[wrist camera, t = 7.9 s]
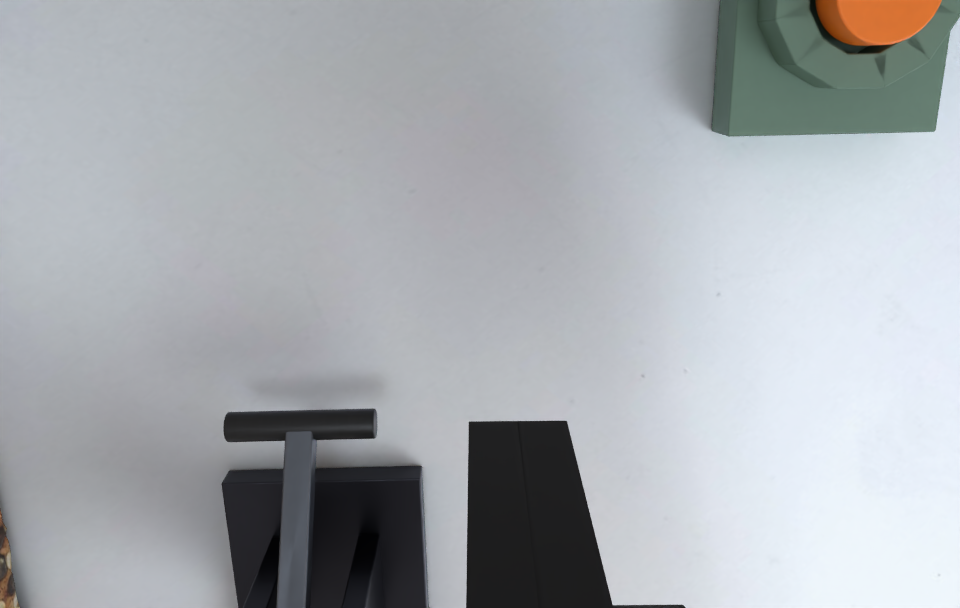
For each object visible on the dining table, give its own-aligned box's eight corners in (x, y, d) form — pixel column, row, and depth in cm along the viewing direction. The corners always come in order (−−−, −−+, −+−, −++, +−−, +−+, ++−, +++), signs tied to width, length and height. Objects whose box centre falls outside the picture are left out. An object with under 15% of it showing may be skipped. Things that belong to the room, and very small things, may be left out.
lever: (237, 417, 33) (219, 406, 31) (379, 413, 33) (372, 403, 31) (213, 764, 29) (190, 782, 27) (374, 760, 29) (365, 777, 27)
